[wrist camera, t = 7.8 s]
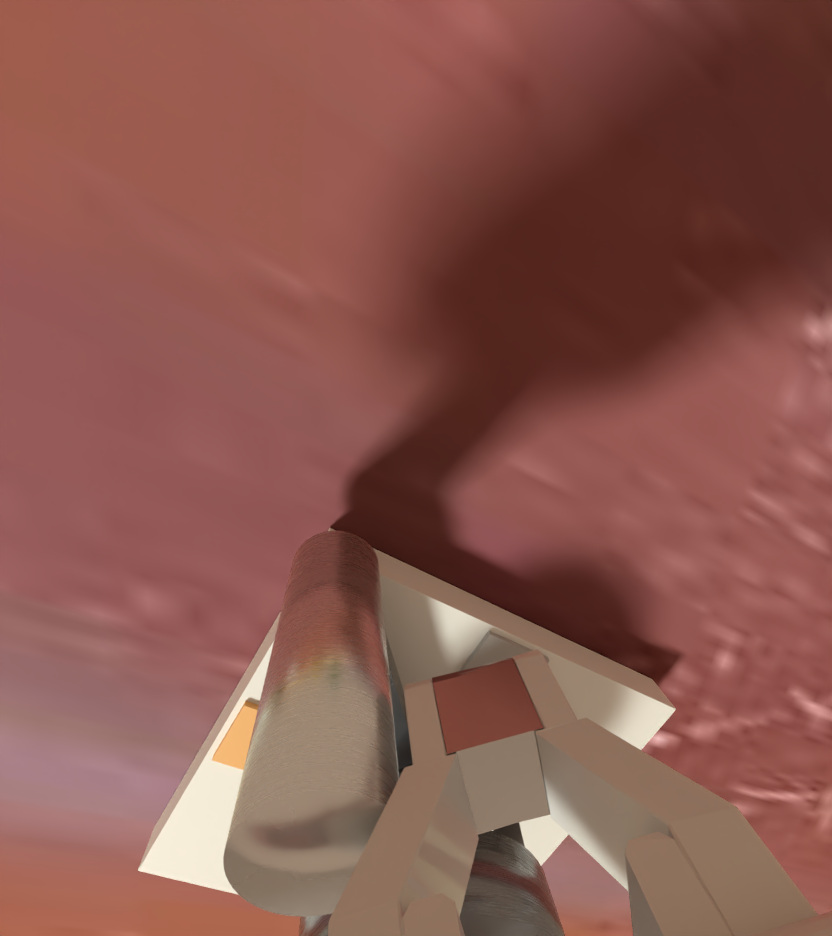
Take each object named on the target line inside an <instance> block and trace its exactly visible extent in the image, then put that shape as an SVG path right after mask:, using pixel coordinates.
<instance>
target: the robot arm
mask: <svg viewBox="0 0 832 936" xmlns="http://www.w3.org/2000/svg"><path fill="white" fill-rule="evenodd" d="M404 698H405V706H406V714H407V722H408V730H409V739H410V747H411V755H412V763H413V765H411V766H408V767H405V768H404V769H403V771H402V773H401V775H400V777H399V779H398V781H397V783H396V785H395V787H394V789H393V791H392V793H391V796H390V798H389V800H388V802H387V804H386V806H385V808H384V810H383V812H382V814H381V816H380V818H379V820H378V822H377V824H376V826H375V828H374V830H373V832H372V834H371V836H370V838H369V840H368V842H367V844H366V846H365V848H364V850H363V852H362V854H361V857H360V859H359V861H358V863H357V865H356V867H355V869H354V871H353V873H352V875H351V877H350V879H349V881H348V883H347V885H346V887H345V889H344V891H343V893H342V895H341V897H340V899H339V901H338V903H337V905H336V907H335V909H334V911H333V913H332V915H331V918H330V920H329V924H328V936H465V934H464V931H463V928H462V924H461V921H460V918H459V917H460V913H461V909H462V905H463V901H464V897H465V893H466V889H467V885H468V881H469V877H470V872H471V868H472V864H473V860H474V856H475V852H476V848H477V844H478V840H479V838H478V835H479V834H482V833H485V832H489V831H492V830H495V829H498V828H501V827H504V826H508V825H511V824H514V823H518V822H522V821H526V820H530V819H534V818H538V817H542V816H547V815H551V818H552V819H553V820H554V821H555V822H556V823H557V824H558V825H560V826H561V827H562V828H563V829H564V830H565V831H566V832H567V833H568V834H569V835H570V836H571V837H572V838H573V839H574V840H575V841H576V842H577V843H578V844H579V845H580V846H582V847H583V848H584V849H585V850H586V851H587V852H588V853H589V854H590V855H591V856H592V857H593V858H594V859H595V860H596V861H597V862H598V863H599V864H600V865H601V866H602V867H604V868H605V869H606V870H607V871H608V872H609V873H610V874H611V875H612V876H613V877H614V878H615V879H616V880H617V881H618V882H619V883H620V884H621V885H622V886H623V887H624V888H626V889H627V890H628V891H629V899H630V908H631V918H632V927H633V936H832V911H831V912H828V913H824V914H821V915H818V914H817V913H816V911H815V910H814V909H813V907H812V906H811V905H810V903H809V902H808V901H807V899H806V898H805V897H804V895H803V894H802V893H801V892H800V890H799V889H798V888H797V886H796V885H795V884H794V882H793V881H792V880H791V878H790V877H789V876H788V874H787V873H786V872H785V870H784V869H783V868H782V866H781V865H780V864H779V862H778V861H777V860H776V858H775V857H774V856H773V854H772V853H771V852H770V851H769V849H768V848H767V847H766V845H765V844H764V843H763V841H762V840H761V839H760V837H759V836H758V835H757V833H756V832H755V831H754V829H753V828H752V827H751V825H750V824H749V823H748V821H747V820H746V819H745V817H744V816H743V815H742V813H741V812H740V811H739V810H738V808H737V807H736V806H734V805H733V804H731V803H729V802H727V801H726V800H724V799H722V798H721V797H719V796H717V795H716V794H714V793H712V792H711V791H709V790H707V789H706V788H704V787H702V786H701V785H699V784H697V783H695V782H694V781H692V780H690V779H689V778H687V777H685V776H684V775H682V774H680V773H679V772H677V771H675V770H674V769H672V768H670V767H669V766H667V765H665V764H663V763H662V762H660V761H658V760H657V759H655V758H653V757H652V756H650V755H648V754H647V753H645V752H643V751H642V750H640V749H638V748H636V747H635V746H633V745H631V744H630V743H628V742H626V741H625V740H623V739H621V738H620V737H618V736H616V735H615V734H613V733H611V732H610V731H608V730H606V729H604V728H603V727H601V726H599V725H598V724H596V723H594V722H593V721H591V720H589V719H588V718H583V719H579V720H578V719H577V717H576V716H575V714H574V712H573V710H572V708H571V706H570V704H569V703H568V701H567V699H566V697H565V695H564V693H563V691H562V690H561V688H560V686H559V684H558V682H557V680H556V678H555V677H554V675H553V673H552V671H551V669H550V667H549V665H548V664H547V662H546V660H545V658H544V656H543V654H542V653H541V652H540V651H539V650H538V649H537V650H534V651H530V652H527V653H523V654H520V655H516V656H513V657H512V658H507V659H503V660H500V661H496V662H492V663H489V664H485V665H482V666H478V667H474V668H471V669H466V670H462V671H458V672H454V673H450V674H446V675H441V676H437V677H433V678H432V679H428V680H424V681H419V682H415V683H411V684H406V685H405V686H404Z"/></svg>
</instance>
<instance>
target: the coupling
mask: <svg viewBox="0 0 832 936" xmlns="http://www.w3.org/2000/svg"><path fill="white" fill-rule="evenodd" d="M411 765H413V763H412V755H411V747H410V739H409V730H408V722H407V714H406V706H405V698H404V690H403V687H402V684H401V681H400V678H399V674H398V671H397V668H396V665H395V661H394V658H393V655H392V652H391V648H390V645H389V642H388V639H387V635H386V632H385V623H384V613H383V602H382V592H381V581H380V571H379V562H378V558H377V555H376V553H375V551H374V549H373V548H372V547H371V545H370V544H369V543H368V542H367V541H365V540H364V539H363V538H361V537H359V536H358V535H355V534H353V533H350V532H345V531H327V532H323V533H320V534H317V535H315V536H313V537H311V538H310V539H308V540H307V541H306V542H304V543H303V544H302V545H301V547H300V548H299V549H298V551H297V552H296V554H295V556H294V559H293V563H292V567H291V571H290V576H289V580H288V584H287V588H286V592H285V597H284V601H283V605H282V609H281V614H280V618H279V622H278V626H277V630H276V635H275V639H274V643H273V647H272V652H271V656H270V660H269V664H268V668H267V673H266V677H265V681H264V685H263V690H262V694H261V698H260V702H259V706H258V711H257V715H256V719H255V723H254V728H253V732H252V736H251V740H250V744H249V749H248V753H247V757H246V761H245V766H244V770H243V774H242V778H241V782H240V787H239V791H238V795H237V799H236V804H235V808H234V812H233V816H232V821H231V825H230V829H229V833H228V837H227V842H226V846H225V850H224V857H223V865H224V871H225V875H226V877H227V879H228V881H229V883H230V885H231V886H232V888H233V889H234V890H235V891H236V892H237V893H238V894H239V895H240V896H241V897H242V898H244V899H245V900H246V901H247V902H249V903H251V904H253V905H254V906H256V907H259V908H261V909H263V910H266V911H269V912H273V913H277V914H282V915H288V916H301V918H300V928H299V936H328V924H329V920H330V918H331V915H332V913H333V911H334V909H335V907H336V905H337V903H338V901H339V899H340V897H341V895H342V893H343V891H344V889H345V887H346V885H347V883H348V881H349V879H350V877H351V875H352V873H353V871H354V869H355V867H356V865H357V863H358V861H359V859H360V857H361V854H362V852H363V850H364V848H365V846H366V844H367V842H368V840H369V838H370V836H371V834H372V832H373V830H374V828H375V826H376V824H377V822H378V820H379V818H380V816H381V814H382V812H383V810H384V808H385V806H386V804H387V802H388V800H389V798H390V796H391V793H392V791H393V789H394V787H395V785H396V783H397V781H398V779H399V777H400V775H401V773H402V771H403V769H404V768H405V767H408V766H411ZM478 838H479V840H478V844H477V848H476V852H475V856H474V860H473V864H472V868H471V872H470V877H469V881H468V885H467V889H466V893H465V897H464V901H463V905H462V909H461V913H460V917H459V918H460V921H461V924H462V928H463V931H464V934H465V936H565V934H564V931H563V928H562V925H561V922H560V919H559V916H558V913H557V910H556V907H555V904H554V901H553V898H552V895H551V892H550V889H549V886H548V883H547V880H546V877H545V874H544V871H543V869H542V867H541V865H540V864H539V862H538V860H537V859H536V858H535V857H534V855H533V854H532V853H531V852H530V851H529V850H528V849H526V848H525V846H524V841H523V837H522V833H521V828H520V824H519V822H518V823H514V824H511V825H508V826H504V827H501V828H498V829H495V830H493V831H489V832H485V833H482V834H479V835H478Z"/></svg>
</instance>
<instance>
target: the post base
mask: <svg viewBox="0 0 832 936" xmlns="http://www.w3.org/2000/svg"><path fill="white" fill-rule="evenodd" d="M328 531H336V530H334V529H332V528H329V530H328ZM373 549H374V548H373ZM374 551H375V553H376V555H377V558H378V562H379V571H380V581H381V592H382V602H383V613H384V623H385V632H386V635H387V639H388V642H389V645H390V648H391V652H392V655H393V658H394V661H395V665H396V668H397V671H398V674H399V678H400V681H401V684H402V687H403V690H404V686H405V685H406V684H411V683H415V682H419V681H424V680H428V679H432V678H433V677H437V676H441V675H446V674H450V673H454V672H458V671H462V670H466V669H471V668H474V667H478V666H482V665H485V664H489V663H492V662H496V661H500V660H503V659H507V658H512V657H513V656H516V655H520V654H523V653H527V652H530V651H534V650H537V649H538V650H539V651H540V652H541V653H542V654H543V656H544V658H545V660H546V662H547V664H548V665H549V667H550V669H551V671H552V673H553V675H554V677H555V678H556V680H557V682H558V684H559V686H560V688H561V690H562V691H563V693H564V695H565V697H566V699H567V701H568V703H569V704H570V706H571V708H572V710H573V712H574V714H575V716H576V717H577V719H578V720H579V719H583V718H588V719H589V720H591V721H593V722H594V723H596V724H598V725H599V726H601V727H603V728H604V729H606V730H608V731H610V732H611V733H613V734H615V735H616V736H618V737H620V738H621V739H623V740H625V741H626V742H628V743H630V744H631V745H633V746H635V747H636V748H638V749H640V750H642V748H643V747H644V746H645V745H646V744H647V743H648V741H649V740H650V739H651V738H652V737H653V736H654V734H655V733H656V732H657V731H658V730H659V729H660V727H661V726H662V725H663V724H664V723H665V722H666V721H667V719H668V718H669V717H670V716H671V715H672V714H673V712H674V711H675V710H676V708H675V707H674V706H673V705H672V703H671V702H670V701H669V700H668V698H667V697H666V696H665V695H664V693H663V692H662V691H661V689H660V688H659V687H658V686H657V684H656V683H655V682H654V681H653V679H651V678H649V677H647V676H645V675H642V674H640V673H638V672H636V671H634V670H632V669H630V668H628V667H625V666H623V665H621V664H619V663H617V662H615V661H613V660H610V659H608V658H606V657H604V656H602V655H600V654H598V653H596V652H593V651H591V650H589V649H587V648H585V647H583V646H581V645H579V644H576V643H574V642H572V641H570V640H568V639H566V638H564V637H562V636H559V635H557V634H555V633H553V632H551V631H549V630H547V629H545V628H542V627H540V626H538V625H536V624H534V623H532V622H530V621H527V620H525V619H523V618H521V617H519V616H517V615H515V614H513V613H510V612H508V611H506V610H504V609H502V608H500V607H498V606H496V605H493V604H491V603H489V602H487V601H485V600H483V599H481V598H479V597H476V596H474V595H472V594H470V593H468V592H466V591H464V590H462V589H459V588H457V587H455V586H453V585H451V584H449V583H447V582H444V581H442V580H440V579H438V578H436V577H434V576H432V575H430V574H427V573H425V572H423V571H421V570H419V569H417V568H415V567H413V566H410V565H408V564H406V563H404V562H402V561H400V560H398V559H396V558H393V557H391V556H389V555H387V554H385V553H383V552H381V551H379V550H376V549H374ZM280 614H281V612H280V613H279V615H278V617H277V619H276V620H275V622H274V624H273V625H272V627H271V629H270V631H269V632H268V634H267V636H266V637H265V639H264V641H263V642H262V644H261V646H260V648H259V649H258V651H257V653H256V654H255V656H254V658H253V660H252V661H251V663H250V665H249V666H248V668H247V670H246V672H245V673H244V675H243V677H242V678H241V680H240V682H239V683H238V685H237V687H236V689H235V690H234V692H233V694H232V695H231V697H230V699H229V701H228V702H227V704H226V706H225V707H224V709H223V711H222V713H221V714H220V716H219V718H218V719H217V721H216V723H215V724H214V726H213V728H212V730H211V731H210V733H209V735H208V736H207V738H206V740H205V742H204V743H203V745H202V747H201V748H200V750H199V752H198V753H197V755H196V757H195V759H194V760H193V762H192V764H191V765H190V767H189V769H188V771H187V772H186V774H185V776H184V777H183V779H182V781H181V783H180V784H179V786H178V788H177V789H176V791H175V793H174V794H173V796H172V798H171V800H170V801H169V803H168V805H167V806H166V808H165V810H164V812H163V813H162V815H161V817H160V818H159V820H158V822H157V824H156V825H155V827H154V829H153V832H152V835H151V837H150V840H149V843H148V845H147V848H146V850H145V853H144V856H143V858H142V861H141V864H140V866H139V869H138V871H141V872H146V873H150V874H154V875H158V876H162V877H167V878H171V879H175V880H179V881H184V882H188V883H192V884H196V885H200V886H205V887H209V888H213V889H217V890H221V891H226V892H230V893H234V894H238V893H237V892H236V891H235V890H234V889H233V888H232V886H231V885H230V883H229V881H228V879H227V877H226V875H225V871H224V865H223V857H224V850H225V846H226V842H227V837H228V833H229V829H230V825H231V821H232V816H233V812H234V808H235V804H236V799H237V795H238V791H239V787H240V782H241V778H242V774H243V770H244V766H245V761H246V757H247V753H248V749H249V744H250V740H251V736H252V732H253V728H254V723H255V719H256V715H257V711H258V706H259V702H260V698H261V694H262V690H263V685H264V681H265V677H266V673H267V668H268V664H269V660H270V656H271V652H272V647H273V643H274V639H275V635H276V630H277V626H278V622H279V618H280ZM519 824H520V828H521V833H522V837H523V841H524V846H525V848H526V849H528V850H529V851H530V852H531V853H532V854H533V855H534V857H535V858H536V859H537V860H538V862H539V864H540V865H542V864H543V863H544V862H545V861H546V860H547V858H548V857H549V856H550V855H551V854H552V853H553V852H554V850H555V849H556V848H557V847H558V846H559V845H560V843H561V842H562V841H563V840H564V839H565V838H566V836H567V835H568V833H567V832H566V831H565V830H564V829H563V828H562V827H561V826H560V825H558V824H557V823H556V822H555V821H554V820H553V819H552V818H551V815H547V816H542V817H538V818H534V819H530V820H526V821H522V822H519ZM492 831H493V830H492ZM238 895H239V894H238Z"/></svg>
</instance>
